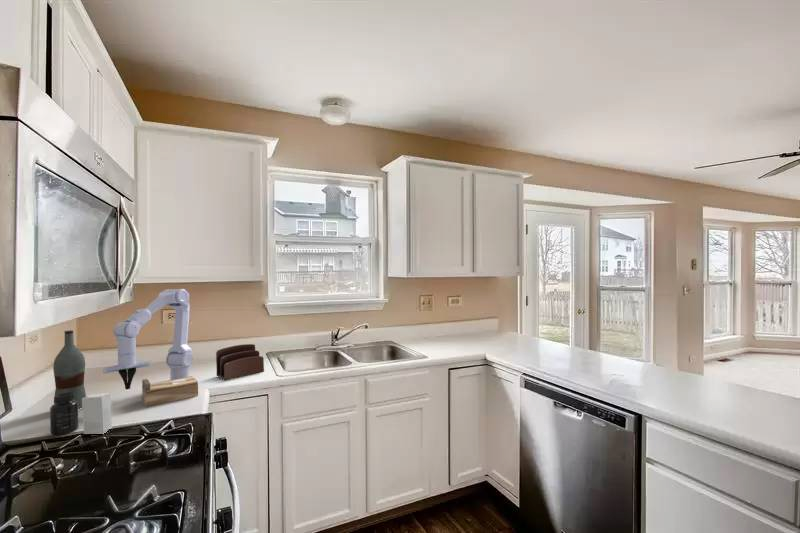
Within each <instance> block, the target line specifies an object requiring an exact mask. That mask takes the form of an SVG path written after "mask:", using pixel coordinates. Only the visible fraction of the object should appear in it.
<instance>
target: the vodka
mask: <svg viewBox="0 0 800 533" xmlns="http://www.w3.org/2000/svg"><path fill="white" fill-rule="evenodd" d="M63 332H64V345H63V347H62V348H61V349H60V351H59V352H58V354H57V355H55V358H54V361H53V366H52V367H53V368H52V369H53V371H52V372H53V376H54V384H55V391H54V396H56V395H58V394H62V393H68V392H72V393H74V399H73V400H75V401H77V403H78V409H80V408H82V398H84V397H86V396H87V394H86V389H85V370H86V361H85V360H86V359H85V355H84V354H83V353H82V352H81V351H80V350H79V348H78V347H77V346H76V345H75V341H74V340H75V338H74V330H73V329H72V330H65V331H63ZM53 404H55V403H54V402H53ZM80 410H81V409H80Z"/></svg>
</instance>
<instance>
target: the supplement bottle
mask: <svg viewBox="0 0 800 533" xmlns="http://www.w3.org/2000/svg"><path fill="white" fill-rule="evenodd" d="M73 399H74V393H72V392H68V393H62V394H58V395H56V396H55V395H54V396H53V404H52V405H51V406H50V407H49V424H50V426H49V427H50V434H51V435H52V436H62V435H61V434H63V435H66V433H67V434H70V433H73V432H75V431H77V429H79V410H78V403H77V401H75V400H73ZM54 403H55V404H54Z"/></svg>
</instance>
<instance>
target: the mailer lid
mask: <svg viewBox="0 0 800 533" xmlns="http://www.w3.org/2000/svg"><path fill="white" fill-rule="evenodd" d="M141 381H142V382H141V384H142V385H141V388H142V387H143V389H144V391H145V392H146V393H147V392H152V391H157V390H163V389H168V388H173V387H178V386H183V385H188V384H193V383H198V384H199V380H197V378H195V377H194V376H192V375H191V376H190V375H189V377H185V378H179V379H174V380H164V381H158V382H152V383H151V382H150V381H149V379H148V378H144V379H143V378H142V379H141Z"/></svg>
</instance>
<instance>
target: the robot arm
mask: <svg viewBox="0 0 800 533" xmlns="http://www.w3.org/2000/svg"><path fill="white" fill-rule="evenodd" d="M165 305H167V306H170V307H171V308H172V309H173V310H175V315H174V330H173V340H172V341H173V343H172V344H173V345H172V346H171V347H170V348H169V349H168V350H167V351H168V353H167V355H166V357H165V363H166V365H167V366H168V369H170V372H169V374H170V380H174V379H179V378H185V377H190V367H191V365H192V364H193V361H194V355H193V349H192V348H191V347H190V346H189V345H188V340H189V339H188V337H189V323H190V321H189V320H190V308H191V305H190V293H189V292H188V291H187V290H186V289H184V288H179V289H168V288H167V289H164V290H162V291H161V292H159V294H158V296H156V298H155V299H154V300H152V302H151V303H150V304H148V305H147V306H146V307H145V308H140V309H136V310H135V311H134V313H132V315H130V316H129V317H127V318H126V319H125V320H124V321H121V322H119V323H116V325H115V327H114V329H113V330H112V333H113V335H114V336H115V339H116V342H117V365H111V366H107V367H103V368H102V373H103V375H105V374H108V373H116V372H118V374H119V376H120V377H121V379H122V381H123V383H124V388H125V390H131V385H132V382H133V378H134V376H135V374H136V372H137V369H140V368H148V367H151V362H150V361H149V360H147V361H137V343H136V341H137V340H136V339H137V338H136V336H137V335H138V334H140V330H141V328H143V326H144V325H145V324H147V323H148V322H149V321H151V319H152V315H154V314H155V313H156V312H158V310H160V309H162V308H163V307H164V306H165Z"/></svg>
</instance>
